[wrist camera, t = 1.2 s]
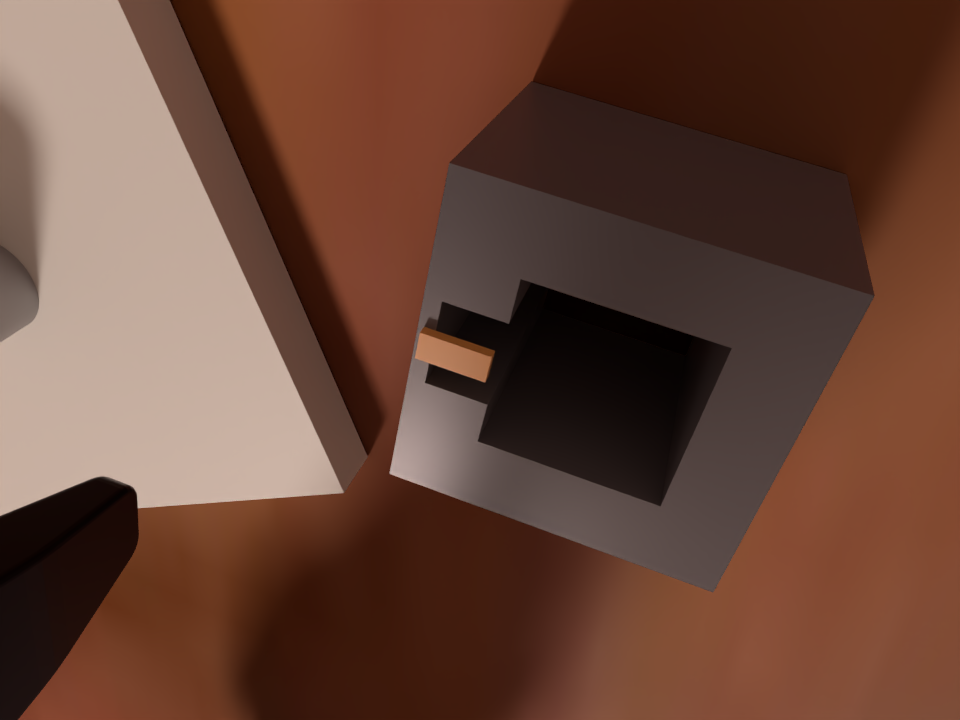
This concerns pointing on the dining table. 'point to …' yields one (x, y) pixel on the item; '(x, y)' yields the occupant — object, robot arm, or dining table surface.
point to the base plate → (144, 279)
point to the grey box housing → (614, 357)
